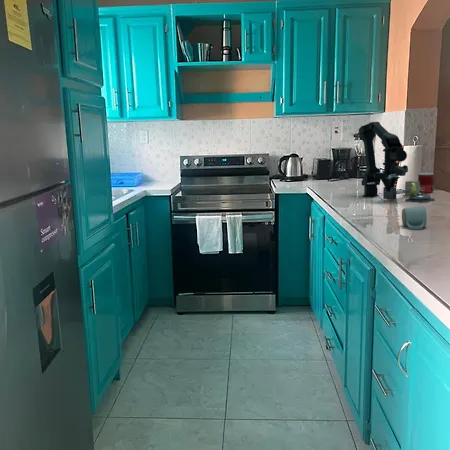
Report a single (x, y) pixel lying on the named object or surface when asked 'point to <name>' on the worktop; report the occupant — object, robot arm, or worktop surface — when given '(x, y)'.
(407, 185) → the grey-green hollow piece
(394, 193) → the block-headed metal hammer
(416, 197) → the handwheel
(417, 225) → the ceramic mug
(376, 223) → the worktop surface
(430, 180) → the canned food
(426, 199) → the wheel base
